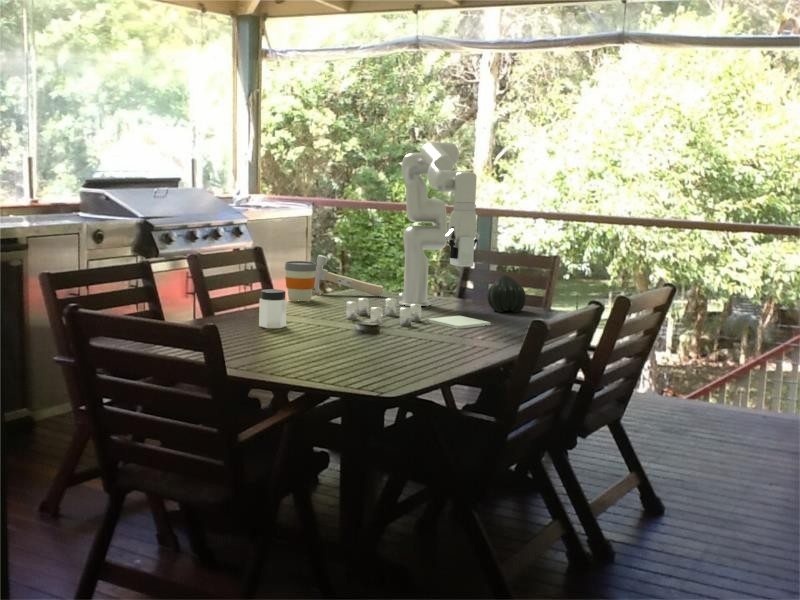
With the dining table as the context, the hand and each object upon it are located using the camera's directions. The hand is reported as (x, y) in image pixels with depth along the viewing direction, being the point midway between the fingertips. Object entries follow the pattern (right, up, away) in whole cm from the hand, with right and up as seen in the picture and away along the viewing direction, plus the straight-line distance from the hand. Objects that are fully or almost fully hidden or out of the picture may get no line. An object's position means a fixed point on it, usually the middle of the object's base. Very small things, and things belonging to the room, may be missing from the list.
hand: (461, 257), depth 320 cm
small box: (0, -3, 0) cm, 3 cm away
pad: (-1, -23, +3) cm, 24 cm away
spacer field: (-28, -22, +4) cm, 36 cm away
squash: (+20, -20, +36) cm, 46 cm away
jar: (-64, -24, -18) cm, 71 cm away
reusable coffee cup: (-62, -15, +43) cm, 77 cm away
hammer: (-44, -13, +62) cm, 77 cm away
